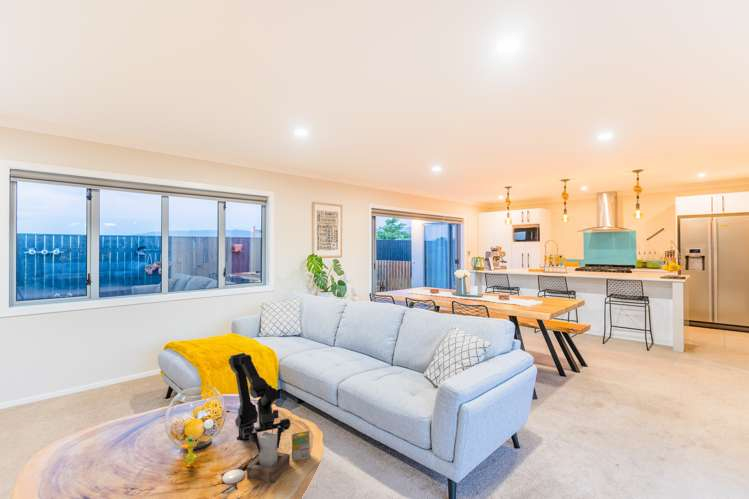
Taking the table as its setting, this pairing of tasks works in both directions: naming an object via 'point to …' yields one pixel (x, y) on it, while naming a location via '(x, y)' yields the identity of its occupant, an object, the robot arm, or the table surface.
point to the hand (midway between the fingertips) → (268, 450)
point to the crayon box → (300, 446)
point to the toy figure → (189, 451)
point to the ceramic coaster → (233, 476)
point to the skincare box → (268, 450)
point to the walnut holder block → (268, 469)
